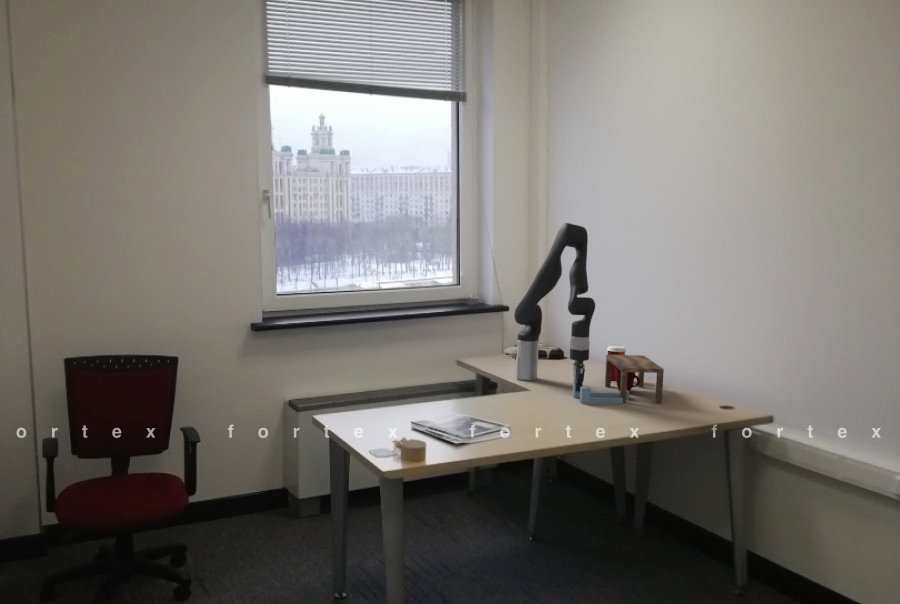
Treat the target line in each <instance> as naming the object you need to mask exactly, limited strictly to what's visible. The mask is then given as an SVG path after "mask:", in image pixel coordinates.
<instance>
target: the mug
mask: <svg viewBox="0 0 900 604" xmlns="http://www.w3.org/2000/svg"><path fill="white" fill-rule="evenodd" d="M615 376H616V382H615V383H616V387H617V389H618V391H619V392H620V383H621V370H619V369H618V368H617V367H616V369H615ZM635 379H636V384H635V385H634V381H635ZM639 384H640V379H639V377H638V375H636V372H627V390H628V391H629V393H630V391H631V390H632V388H638V385H639Z"/></svg>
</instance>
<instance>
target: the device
mask: <svg viewBox="0 0 900 604" xmlns="http://www.w3.org/2000/svg"><path fill="white" fill-rule="evenodd" d="M504 355H509V356H508V357H512V358H516V356H517V344H515V345H512V346H511V347H506V348H505V349H504V350H503V356H504ZM561 357H563V358H565V352H564V351H563V349H561V348H559V347H556V346H552V345H548V344H544V343H542V342H539V346H538V360H559V359H558V358H560V359H562V358H561Z"/></svg>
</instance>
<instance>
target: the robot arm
mask: <svg viewBox="0 0 900 604" xmlns="http://www.w3.org/2000/svg"><path fill="white" fill-rule="evenodd" d="M588 237H589V236H588V231H587V228H585V227H584V226H582V225H578V224H573V223H569V222H565V223H563V224H562V225H561V226H560V227H559V230H558V231H557V234H556V235H555V238H554V240H553V242H552V245H551V248H550V249H549V252H548V254H547V255H546V257H545V259H544V261H543V262H542V264H541V266H540V268H539V270H538V271H537V273H536V275H535V277H534V279H533V281H532V283H531V285H530V287H529V288H528V290H527V291H526V293H525V295H524V296H523V298H522V299H521V300H520V302H519V303H518V304H517V306H516V308H515V309H514V310H515V311H514V313H513V314H514V321H515V322H516V323H517V324H518V325H521V326H524V327H523V329H522V330H520V331H519V332H518V334H517V344H516V345H517V356H516V359H515V360H516V362H515V377H516V380H519V381H537V380H538V376H539V375H538V374H539V373H538V370H539V369H538V367H539V366H538V365H539V359H538V346H539V343H540V342H539V341H540V340H539V339H540V335H541V333H542V324H543V323H542V322H543V311H542V308H541V306H540V305H539V302H540V301H541V300H542V299H543V298H545V297H546V296H547V295H549V294H550V293H551V291H553V289H554V288H555V287H556V285H557V284H558V282H559V280H560V279H561V277H562V275H563V274H562V273H563V266H562V254H563V252H564V250H565V248H566V247H570V248H574V250H575V253H576V255H575V260H574V261H573V263H572V265H571V267H570V269H569V274H568V276H569V278H568V279H569V287H570V289H569V290H570V293H569V299H568V303H567V310H568V312H569V314H570V315H572V316H583V317H582V319H580V320H575V321H573V322H572V323H571V335H570V340H569V341H570V343H569V345H570V346H569V359H570V360H572V361H574V362H573V363H572V367H573V371H572V373H573V377H574V372H575V376H576V391H577V392H580V387H582V382H583V383H584V381H585V379H584V378H585V373H586V369H585V368H586V366H585V364H584V361H588V360H589V359H590V342H591V340H590V331H591V329H590V327H591V323H592V319H593V316H594V313H595V311H596V302H595V300H594V299H593V297H588V296H587V297H583V296H582V297H579V295H584V294H586V293H587V292H588V291H589V281H588V273H587V271H588V270H587V259H588V243H589V241H588V240H589V239H588ZM577 373H578V374H577ZM579 377H581V379H579Z"/></svg>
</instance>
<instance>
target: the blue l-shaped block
mask: <svg viewBox="0 0 900 604" xmlns="http://www.w3.org/2000/svg"><path fill="white" fill-rule="evenodd" d="M590 392H591V388H590V387H589V386H583V387H580V398H579V403H580V404H581V405H583V404H584V405H591V404H592V405H593V404H594V405H595V404H597V405H623V404H624V402H623V399H622V398H596V397H590Z"/></svg>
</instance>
